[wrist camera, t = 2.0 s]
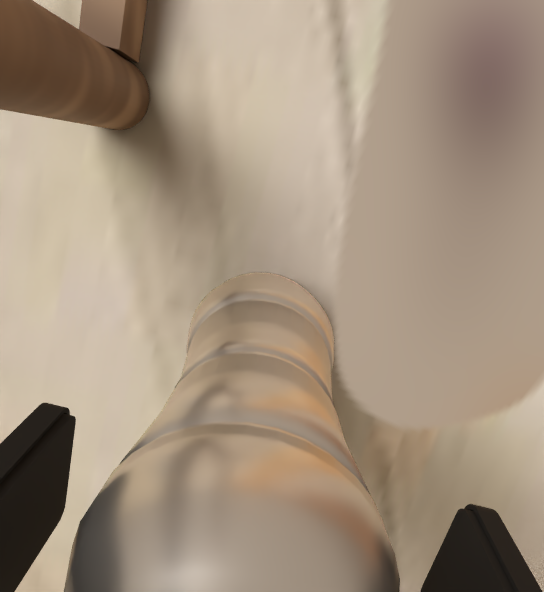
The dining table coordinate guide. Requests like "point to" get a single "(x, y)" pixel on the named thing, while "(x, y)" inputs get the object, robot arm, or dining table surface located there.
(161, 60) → the dining table surface
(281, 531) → the silver metal bottle
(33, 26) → the brown piece
